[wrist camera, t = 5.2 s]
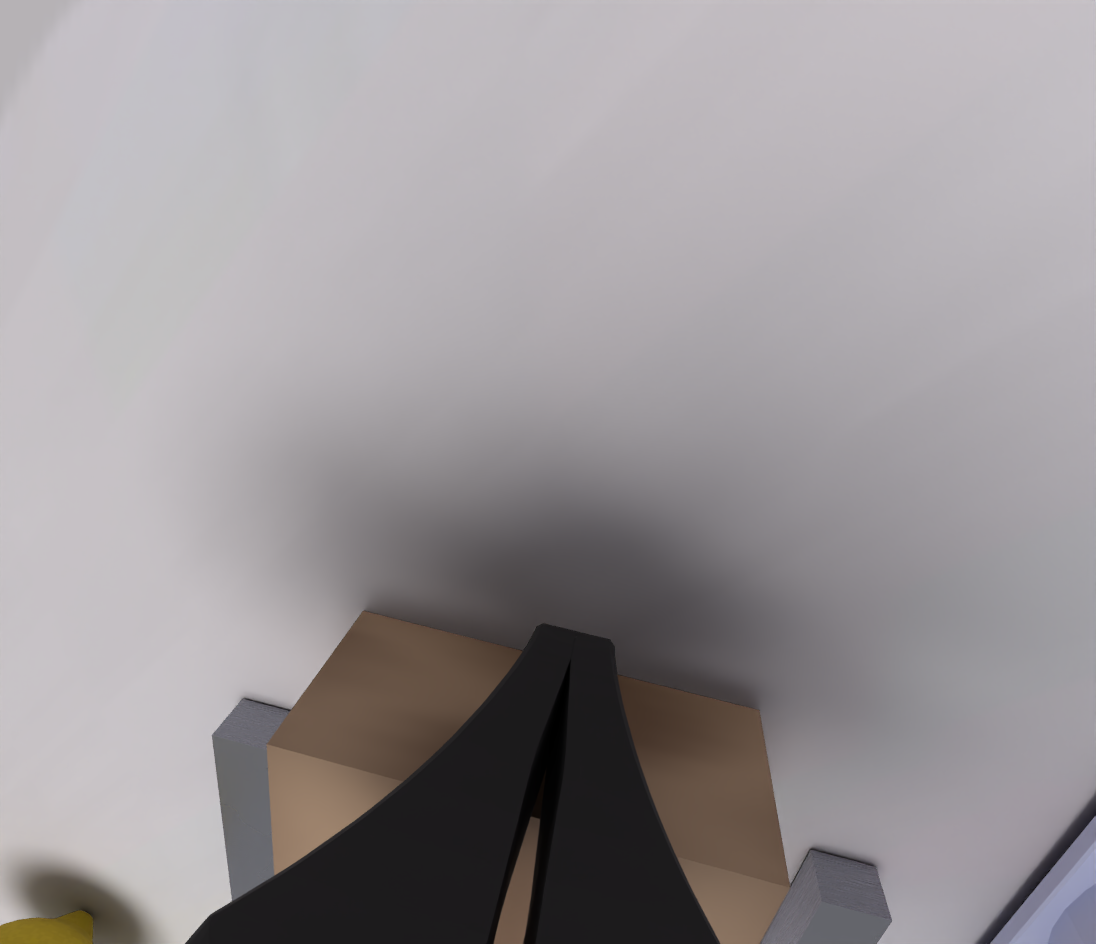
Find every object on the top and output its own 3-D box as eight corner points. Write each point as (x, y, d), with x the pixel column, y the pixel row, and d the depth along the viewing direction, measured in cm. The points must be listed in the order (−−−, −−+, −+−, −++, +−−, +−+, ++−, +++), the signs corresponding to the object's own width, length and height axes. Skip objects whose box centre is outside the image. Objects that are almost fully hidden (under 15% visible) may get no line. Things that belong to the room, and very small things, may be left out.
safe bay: (875, 866, 14) (892, 920, 13) (770, 1035, 18) (777, 1088, 17) (242, 698, 16) (211, 735, 15) (259, 883, 20) (234, 924, 18)
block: (757, 702, 14) (790, 887, 10) (688, 869, 16) (693, 1064, 13) (367, 605, 14) (266, 743, 11) (360, 779, 17) (278, 938, 13)
